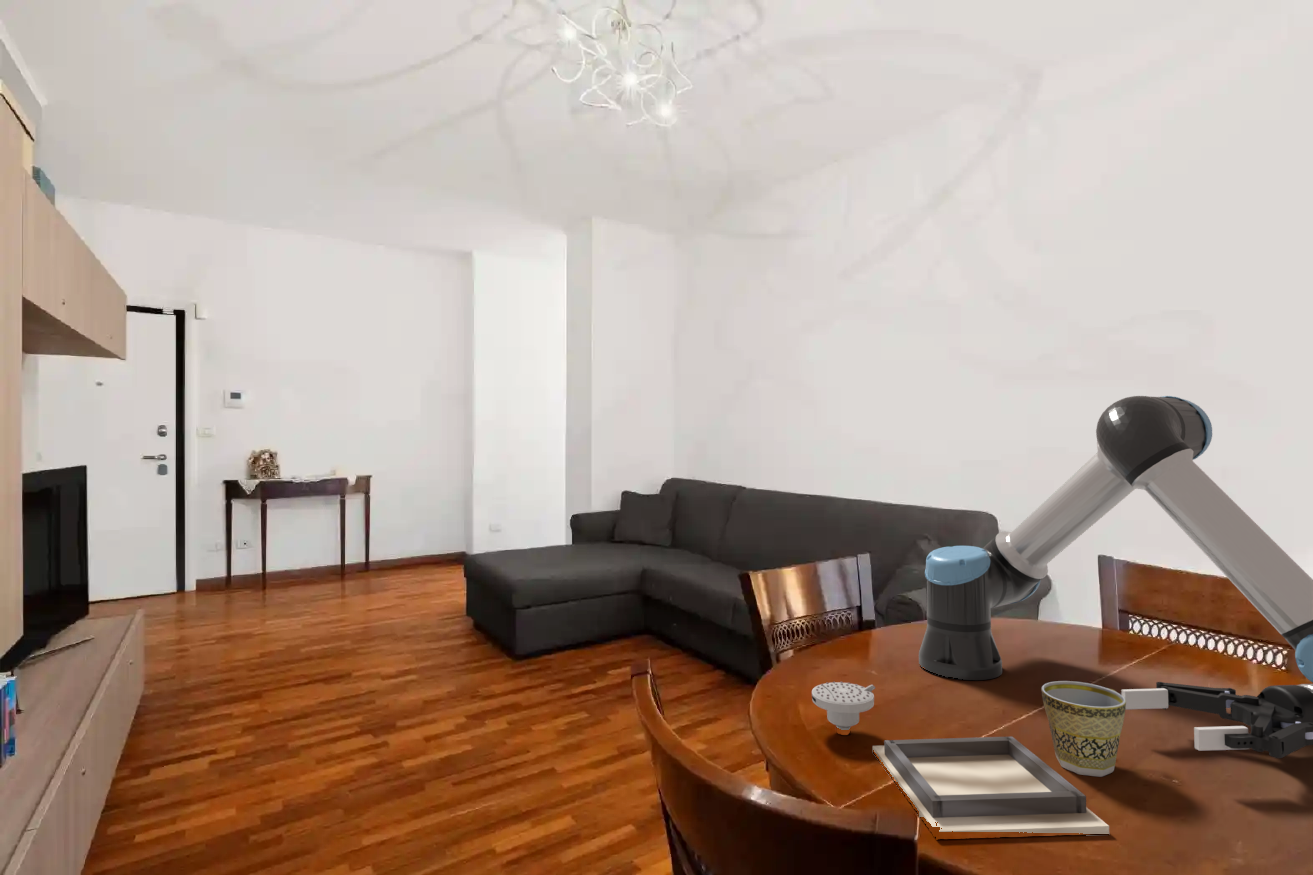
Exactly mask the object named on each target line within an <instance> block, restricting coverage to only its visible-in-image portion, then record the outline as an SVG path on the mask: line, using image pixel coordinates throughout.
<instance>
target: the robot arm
mask: <svg viewBox="0 0 1313 875" xmlns="http://www.w3.org/2000/svg"><path fill="white" fill-rule="evenodd" d="M1095 433H1096V435H1095V436H1096V448H1097V449H1096V450H1097V453H1095V454H1094V455H1093V456H1092V457H1091V458H1090V459H1089V460H1088V461H1087V462H1086V463H1084V465H1082V466H1081V467H1080V468H1079V469H1078V470H1077V471H1075V473H1074V474H1073V475H1072V476H1070V478H1068V479H1067V480H1066V481H1065V482H1064V483H1063V484H1062V485H1061V486H1060V487H1059V488H1058V489H1056V490H1055V492H1053V493H1052V494H1051V495H1050V496H1049V497H1048V498H1047V499H1046V500H1044V502H1042V503H1041V504H1040V505H1039V506H1038V507H1037V508H1036V509H1035V510H1034V511H1032V513H1031V514H1029V516H1027V517H1026V518H1025V519H1024V520H1023V521H1022V522H1021V523H1020V524H1019V525H1018V526H1016V528H1014V529H1013V530H1011V531H1000V532H998V533H997V534H996V535H995V536H994V537H993V538H992V539H991V540H990V541H989V542H988V543H986V545H984V547H979V546H973V545H953V546H943V547H939V548H935V549H933V550H932V551H930V552H929V553H928V555H927V556H926V559H925V570H924V576H925V589H926V591H925V592H926V595H925V596H926V624H927V625H926V630H925V632H924V635H923V638H922V641H921V642H922V643H921V645H920V648H919V651H918V665H919V664H920V665H921V667H924V668H925V669H926V670H928V671H930V672H933V673H936V674H938V675H937V676H939V675H942V676H941V677H943V676H945V678H948V677H953V678H952V679H954V678H958V679H957V680H962V679H963V680H965V681H983V680H984V681H985V680H992V679H996V678H998V677H1000V676H1002V674H1003V660H1002V657H1001V655H1000V653H999V648H998V647H997V643H996V641H995V638H994V636H993V632H992V620H991V619H992V616H991V615H992V613H991V610H992V609H994V608H998V607H1002V606H1006V605H1012V604H1017V603H1018V602H1019V603H1020V602H1022V601H1024V600H1026V599H1028V598H1029V597H1030V596H1032V595H1033V594H1034V593H1035V592H1037V590H1038V588H1039V587H1040V584H1041V581H1042V580H1043V579H1044V578H1045V577H1047V575H1048V574H1049V569H1048V564H1049V563H1050V562H1051V561H1052V560H1053V559H1055V557H1057V556H1058V555H1059V554H1061V552H1063V551H1065V549H1066V548H1068V547H1069V546H1070V545H1071V544H1072V543H1073V542H1074V541H1076V540H1077V539H1078V538H1080V537H1081V536H1082V535H1083V534H1084V533H1085V532H1086V531H1088V530H1089V529H1090V528H1091V527H1092V526H1093V525H1094V524H1096V523H1097V522H1098V521H1099V520H1100V519H1102V518H1103V517H1104V516H1106V514H1108V513H1109V512H1110V511H1112V509H1114V508H1115V507H1116V506H1117V505H1118V504H1119V503H1121V502H1123V500H1124V499H1126V498H1127V496H1129V495H1130V494H1131V493H1133V491H1135V490H1144V491H1146V493H1147V494H1148V495H1149V496H1150V497H1151V498H1152V499H1153V501H1154V502H1156V503H1157V505H1158V506H1159V507H1160V508H1161V509H1162V510H1163V512H1165V513H1166V514H1167V515H1168V516H1169V517H1170V519H1172V520H1173V522H1174V523H1175V524H1176V525H1177V526H1178V527H1179V528H1180V529H1181V530H1182V531H1183V532H1184V533H1185V535H1187V537H1189V539H1191V540H1192V542H1193V543H1195V545H1196V546H1197V547H1198V548H1199V549H1200V550H1201V551H1202V552H1203V554H1204V555H1206V556H1207V558H1209V560H1210V561H1211V562H1212V563H1213V564H1214V565H1215V566H1216V567H1217V568H1218V570H1219V571H1221V572H1222V573H1223V575H1224V576H1225V577H1226V578H1228V580H1229V581H1230V582H1231V584H1233V585H1234V586H1235V587H1236V589H1237V590H1238V591H1239V592H1241V594H1243V596H1244V598H1246V599H1247V600H1248V602H1250V604H1252V606H1253V607H1254V608H1255V609H1256V610H1257V611H1258V612H1259V613H1260V614H1261V615H1262V616H1263V617H1264V619H1266V620H1267V622H1269V623H1270V624H1271V626H1272V627H1274V629H1275V630H1276V631H1277V632H1278V633H1279V634H1280V635H1281V636H1282V637H1283V639H1285V641H1286V642H1287V643H1288V644H1289V646H1291V647H1292V649H1294V651H1295V653H1294V657H1295V663H1296V666H1297V668H1298V670H1299V671H1300V672H1301V674H1302V675H1303V676H1304V677H1305V678H1306V679H1307V680H1308V681H1309V682H1311V683H1301V684H1282V685H1281V684H1280V685H1279V684H1277V685H1268V686H1266V687H1264V688H1263V689H1262V690H1261V691H1260V692H1259V694H1258V695H1249V694H1242V695H1238V694H1237V692H1236V689H1234V688H1232V687H1209V686H1202V685H1201V686H1199V685H1190V684H1181V683H1172V682H1162V681H1156V682H1155V683H1156V685H1155V686H1156V688H1133V689H1132V688H1129V689H1127V688H1126V689H1121V695H1122V696H1123V697H1124V698H1125V700H1126V709H1125V710H1146V709H1147V710H1149V709H1150V710H1153V709H1163V710H1165V711H1166V710H1167V709H1169V706H1170V707H1176V708H1180V709H1187V710H1193V711H1197V712H1203V713H1208V714H1209V713H1210V714H1213V715H1214V714H1215V715H1218V716H1219V717H1220V718H1222V719H1224V720H1229V721H1234V722H1239V723H1243V724H1244V725H1246V726H1249V727H1250V732H1249V728H1248V727H1246V726H1244V725H1230V726H1225V725H1224V726H1221V725H1220V726H1198V727H1197V726H1195V727H1193V735H1194V737H1193V740H1194V742H1193V743H1194V749H1195V750H1198V751H1199V752H1200V751H1226V750H1228V751H1230V750H1232V751H1234V750H1250V749H1251V750H1253V751H1255V752H1259V753H1263V752H1268V755H1269V756H1270V757H1272V758H1274V759H1283V758H1285V757H1286V756H1288V755H1290V754H1293V753H1295V752H1296V751H1298V750H1300V749H1302V748H1304V747H1306V746H1313V578H1312V577H1311V576H1310V575H1309V574H1308V573H1306V571H1305V570H1304V569H1303V568H1302V566H1300V565H1298V563H1297V562H1296V561H1295V560H1294V559H1293V558H1292V557H1291V556H1289V554H1288V553H1287V552H1286V551H1284V550H1283V549H1282V548H1281V547H1280V545H1278V543H1276V542H1275V540H1274V539H1272V538H1271V537H1270V536H1269V534H1267V533H1266V532H1265V531H1264V530H1263V529H1262V528H1261V526H1259V525H1258V523H1256V522H1255V521H1254V520H1253V519H1252V518H1251V517H1250V516H1249V515H1248V514H1247V513H1246V512H1245V511H1244V510H1243V509H1242V508H1241V507H1240V506H1239V505H1238V504H1237V503H1236V502H1235V501H1234V500H1233V499H1232V498H1231V497H1230V496H1229V495H1228V494H1227V493H1226V492H1225V491H1224V490H1223V489H1222V488H1221V487H1220V486H1219V485H1218V484H1217V483H1215V481H1214V480H1213V479H1212V478H1210V477H1209V475H1207V473H1206V472H1205V471H1203V470H1202V468H1201V467H1200V466H1199V465H1197V464H1196V463H1195V462H1194V460H1196V459H1198V458H1199V457H1200V456H1202V455H1203V454H1204V453H1205V451H1206V450H1208V448H1209V446H1210V445H1211V442H1212V438H1213V426H1212V422H1211V420H1210V417H1209V416H1208V414H1207V413H1206V411H1204V409H1202V408H1201V407H1200V406H1199V405H1197V404H1196V403H1195V402H1192V401H1191V400H1188V399H1184V398H1180V397H1177V396H1172V395H1164V396H1162V395H1161V396H1147V395H1133V396H1128V397H1125V398H1121V399H1119V400H1117V401H1115V402H1113V403H1112V404H1110V405H1109V406H1108V407H1107V408H1106V409H1105V410H1104V411H1103V412H1102V414H1101V415H1100V417H1099V419H1098V421H1097V424H1096V430H1095ZM920 665H919V666H920ZM921 667H920V668H921ZM926 670H925V671H926ZM928 671H927V672H928ZM930 672H929V673H930ZM933 673H932V674H933ZM936 674H935V675H936ZM963 680H962V681H963ZM1227 709H1230V713H1229V712H1227Z"/></svg>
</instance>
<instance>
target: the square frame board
mask: <svg viewBox="0 0 1313 875" xmlns="http://www.w3.org/2000/svg"><path fill="white" fill-rule="evenodd" d="M883 743H884V745H872V751H873V750H874V752H875V753H876V754H877V756H878V757H879V759H880V760H881V762H883V764H884V766H885V767H886V768H887V770H888V771H889V772H890V774H891V775H892V777H894V779H895V780H896V782H898V784H899V786H900V787H901V788H902V789H903V791H904V792H905V793H906V794H907V796H908V797H909V798H910V800H911V801H912V802H913V804H914V805H915V807H916V808H917V810H918V811H919V816H918V817H919V818H920V817H924V818H925V819H926V821H927V822H929V823H930V824H931V826H932V827H940V830H939V832H952V831H953V832H1019V833H1020V832H1023V833H1024V832H1027V833H1032V832H1033V833H1079V834H1080V833H1083V834H1109V835H1110V825H1109V824H1107V823H1106V822H1105V821H1104V820H1103V819H1101V817H1099V816H1098V815H1096V813H1094V812H1093V811H1092V810H1091V809H1089V808H1088V807H1087V796H1086V795H1085V794H1084V793H1083V792H1081V791H1080V790H1079V789H1078V788H1076V787H1075V786H1074V785H1073V784H1072V783H1070V781H1068V780H1067V779H1065V778H1064V777H1063V776H1062V775H1061V774H1059V773H1058V772H1057V771H1056V770H1055V769H1053V768H1052V767H1051V766H1049V764H1047V763H1046V762H1044V761H1043V760H1042V759H1041V758H1040V757H1039V756H1037V755H1036V754H1034V752H1032V751H1031V750H1029V749H1028V748H1027V747H1026V746H1025V745H1023V744H1022V743H1021V742H1020V741H1019V740H1017V739H1016V738H1015V737H1013V736H987V737H985V736H983V737H955V738H953V737H949V738H923V739H922V738H921V739H919V738H918V739H914V738H913V739H889V740H888V739H886V740H884V741H883ZM935 822H936V823H937V822H938V823H937V826H936V823H935ZM941 828H942V829H941Z"/></svg>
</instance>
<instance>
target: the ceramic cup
mask: <svg viewBox="0 0 1313 875" xmlns="http://www.w3.org/2000/svg"><path fill="white" fill-rule="evenodd" d="M1040 690H1041V697H1042V702H1043V707H1044V711H1045V714H1046V717H1047V720H1048V726H1049V728H1050V735H1051V738H1052V739H1051V740H1052V745H1053V749H1054V754H1055V757H1056V759H1057V761H1058V763H1059V764H1060V766H1061V768H1063V769H1065V770H1068V771H1070V772H1072V773H1075V774H1077V775H1080V776H1081V775H1083V776H1089V777H1090V776H1091V777H1099V778H1102V777H1105V776H1107V775H1110V774H1111V773H1113V772H1114V771H1115V766H1116V763H1117V762H1116V761H1117V756H1118V755H1117V754H1118V749H1119V745H1120V738H1121V733H1122V729H1123V726H1124V722H1125V714H1126V710H1127V709H1126V700H1125V698H1124V697H1123V696H1122V693H1119V692H1117V691H1116V689H1113V688H1108V687H1104V686H1101V685H1097V684H1093V683H1088V682H1082V681H1072V680H1071V681H1070V680H1058V681H1050V682H1046V683H1044V684H1043V685H1041V688H1040Z"/></svg>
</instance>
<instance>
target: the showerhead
mask: <svg viewBox="0 0 1313 875" xmlns="http://www.w3.org/2000/svg"><path fill="white" fill-rule="evenodd" d="M875 689H876V686H875V685H874V684H870V685H867V686H866V687H865V686H862V685H859V684H857V683H851V682H843V681H840V682H839V681H838V682H835V681H832V682H826V683H821V684H818V685H816V686H814V687H813V688H812V690H811V699H812V700H811V701H812V703H813V704H814V705H816V706H817V707H818V708H820V709H822V710H825V711H826V716H827V717H826V718H827V721H828V722H830V724H832V725H834V726H835V728H836V727H837V728H839V729H841V730H849V729H850V728H851V727H854V726H856V725H857V724H858V723H859V722H860V713H864V712H867V711H869V710H871V709H872V708H874V705H875V695H874V693H873V692H872V691H873V690H875Z"/></svg>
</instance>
